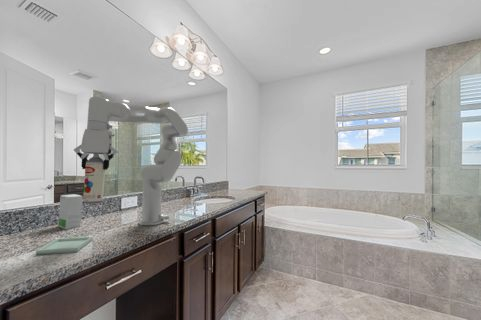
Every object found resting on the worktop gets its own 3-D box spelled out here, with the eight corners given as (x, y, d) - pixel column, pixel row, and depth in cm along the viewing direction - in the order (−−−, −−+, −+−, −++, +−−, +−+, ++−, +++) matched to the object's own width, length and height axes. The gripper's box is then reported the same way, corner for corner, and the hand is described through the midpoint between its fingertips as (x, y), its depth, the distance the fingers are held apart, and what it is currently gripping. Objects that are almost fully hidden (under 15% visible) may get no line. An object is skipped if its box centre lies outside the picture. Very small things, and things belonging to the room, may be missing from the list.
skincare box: (57, 226, 104) (59, 195, 104) (73, 223, 110) (74, 193, 110) (66, 229, 100) (67, 196, 100) (81, 226, 106) (83, 195, 106)
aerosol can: (78, 202, 85) (82, 153, 86) (95, 200, 91) (98, 154, 92) (90, 203, 82) (93, 153, 83) (106, 201, 89) (109, 154, 90)
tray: (92, 240, 86) (92, 236, 86) (77, 252, 74) (77, 247, 74) (57, 242, 83) (57, 238, 83) (35, 255, 71) (36, 250, 72)
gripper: (123, 130, 94) (121, 170, 93) (78, 127, 90) (75, 168, 89) (118, 127, 87) (115, 169, 86) (69, 123, 83) (65, 168, 82)
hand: (95, 168), depth 88 cm, fingers closed on aerosol can, 6 cm apart
